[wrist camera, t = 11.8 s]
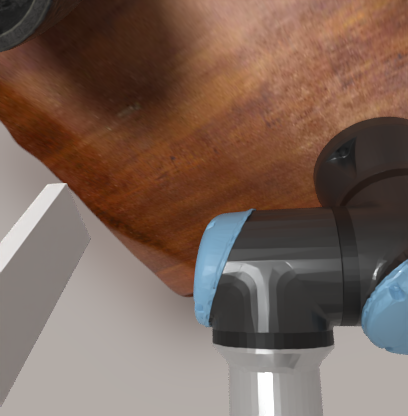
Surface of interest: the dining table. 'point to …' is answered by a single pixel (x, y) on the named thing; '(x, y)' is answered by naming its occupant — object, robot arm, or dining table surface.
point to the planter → (29, 19)
